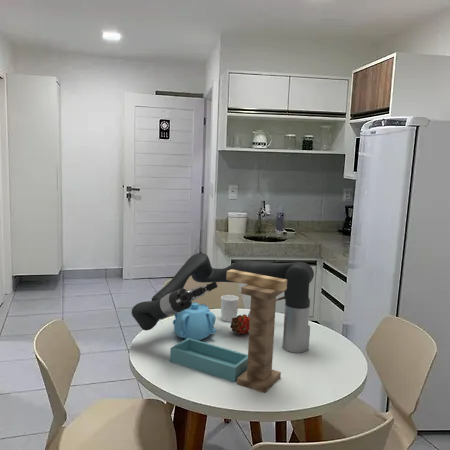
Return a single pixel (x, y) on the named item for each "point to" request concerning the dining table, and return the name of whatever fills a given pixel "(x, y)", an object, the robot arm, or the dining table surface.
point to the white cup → (229, 307)
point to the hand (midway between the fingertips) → (209, 287)
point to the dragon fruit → (240, 324)
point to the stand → (260, 339)
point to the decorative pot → (194, 322)
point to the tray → (209, 359)
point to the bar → (257, 280)
